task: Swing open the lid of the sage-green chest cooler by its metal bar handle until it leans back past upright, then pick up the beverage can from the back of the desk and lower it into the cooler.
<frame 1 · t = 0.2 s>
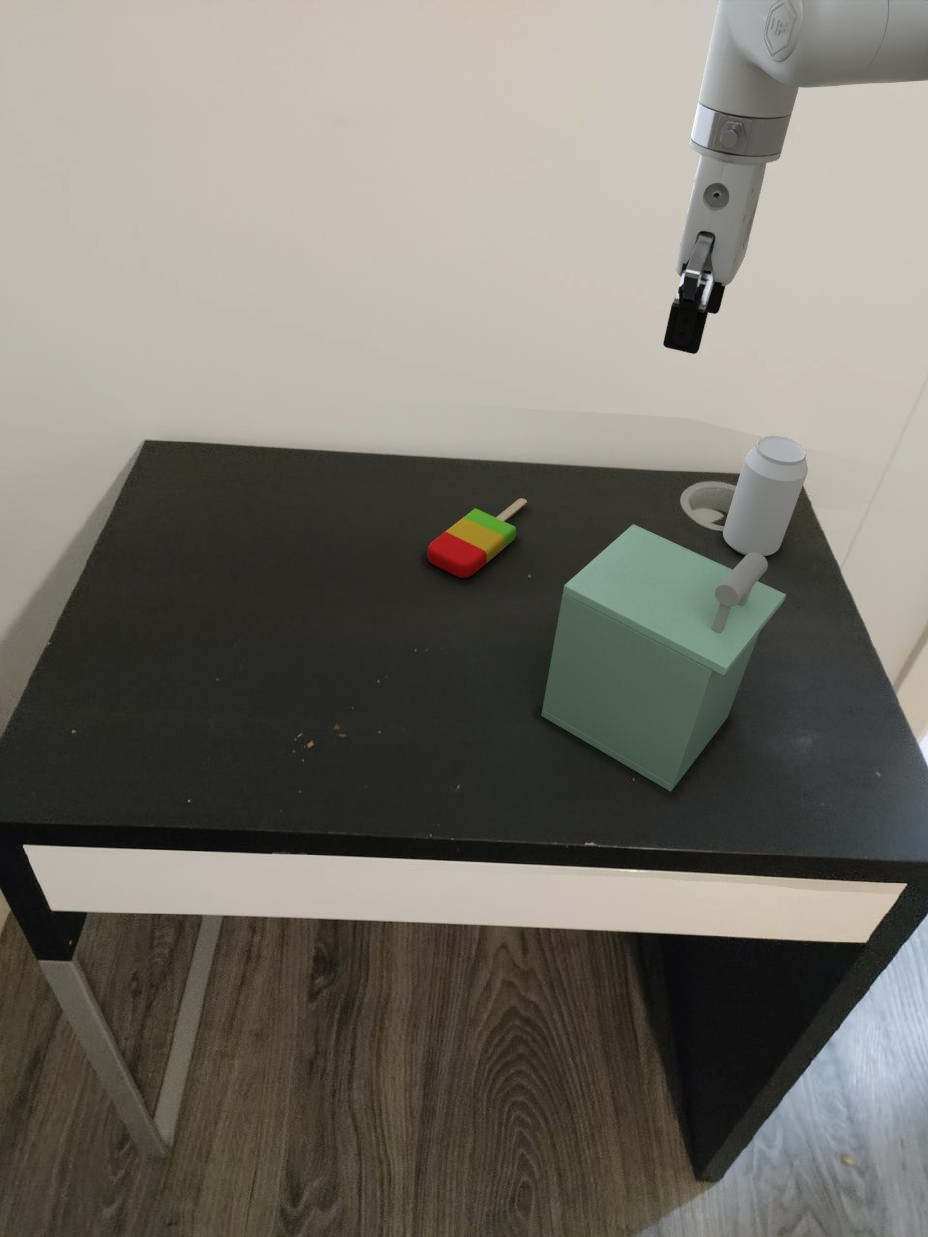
hand: (691, 328, 88), 22 cm above the table, tool pointing down, fingers open, 9 cm apart
popsicle: (485, 539, 98), on the table
fridge lid: (681, 571, 69), point 16 cm above the table, hinge at 0.0°
beverage can: (748, 545, 101), on the table
pale green hollow box: (635, 716, 80), on the table
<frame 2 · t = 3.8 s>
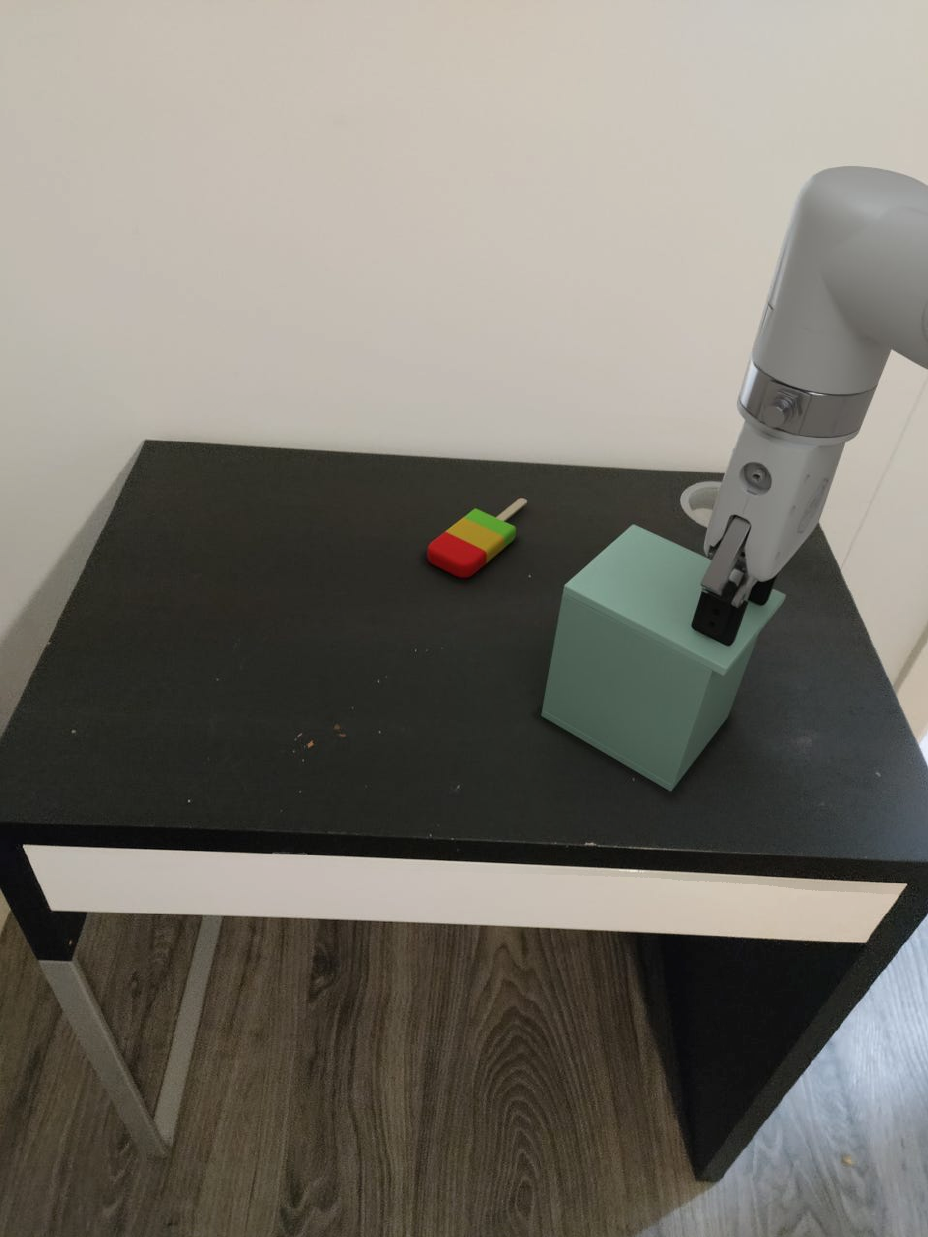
hand: (730, 613, 69), 15 cm above the table, tool pointing down, fingers closed on fridge lid, 5 cm apart
fridge lid: (681, 571, 69), point 16 cm above the table, hinge at -0.2°, touching gripper
everything else where it was.
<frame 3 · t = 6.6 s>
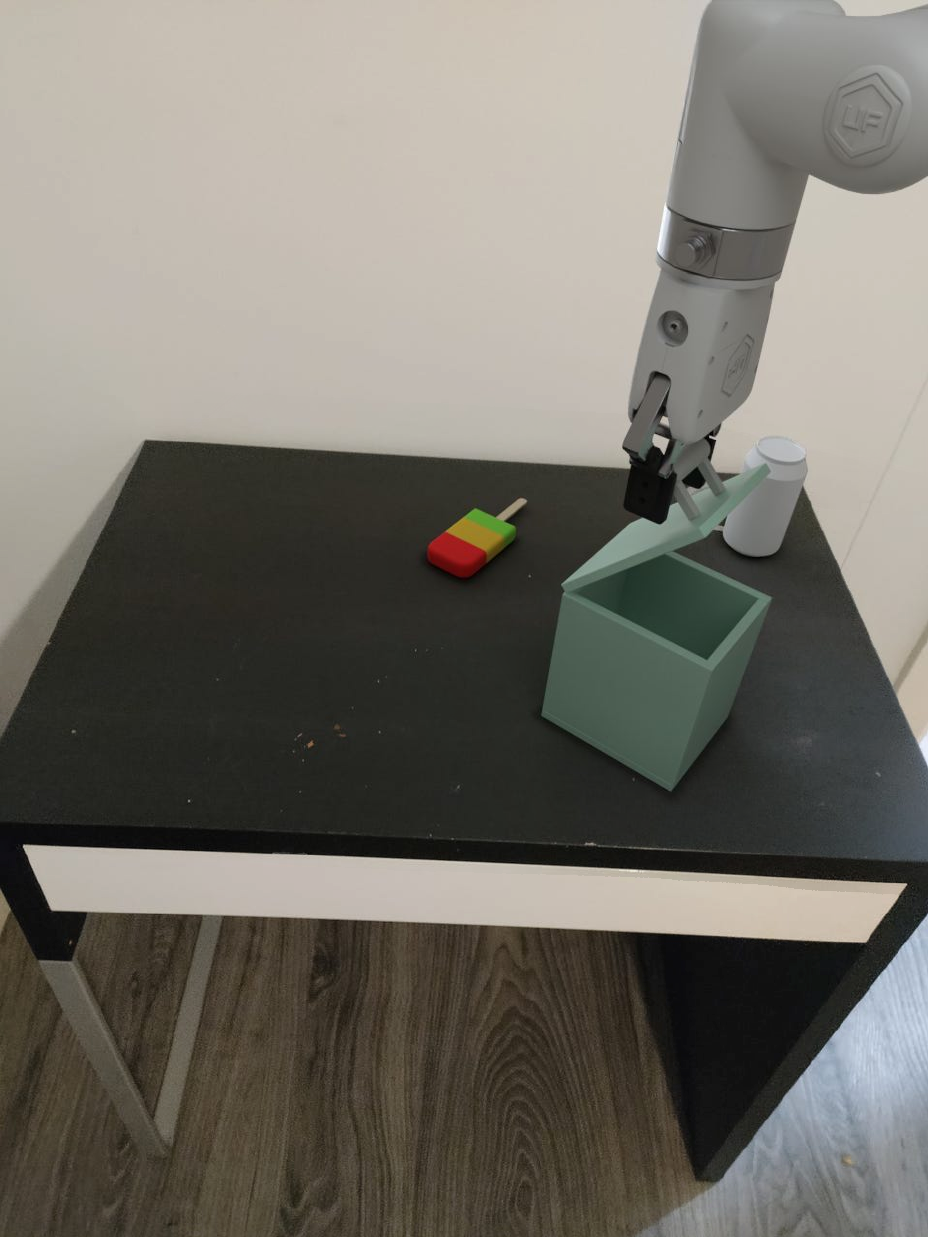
hand: (664, 495, 67), 22 cm above the table, tool pointing down, fingers closed on fridge lid, 5 cm apart
fridge lid: (647, 504, 68), point 21 cm above the table, hinge at 47.3°, touching gripper
everything else where it was.
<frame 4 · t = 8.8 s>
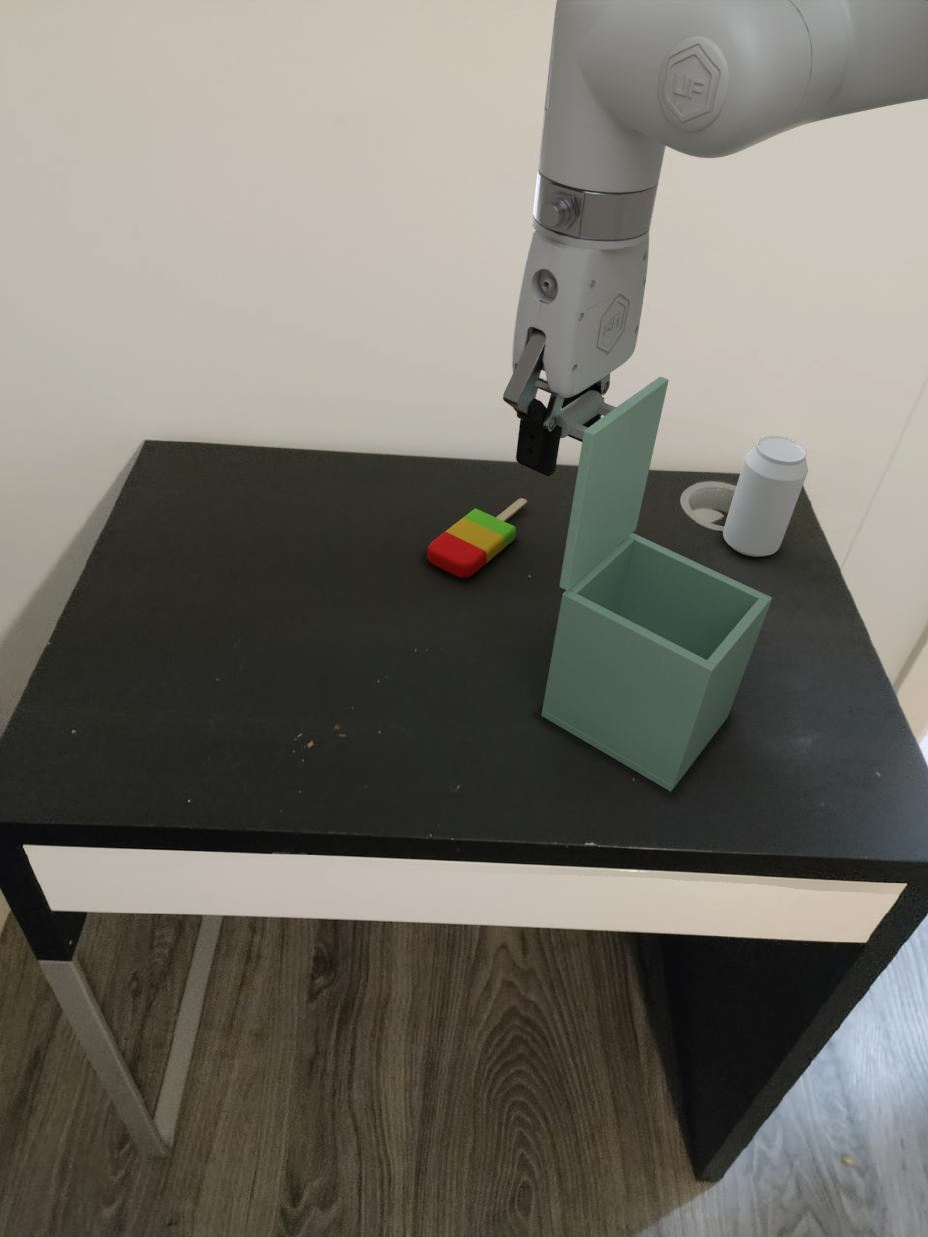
hand: (556, 450, 71), 22 cm above the table, tool pointing down, fingers closed on fridge lid, 5 cm apart
fridge lid: (587, 474, 70), point 21 cm above the table, hinge at 90.6°, touching gripper
everything else where it was.
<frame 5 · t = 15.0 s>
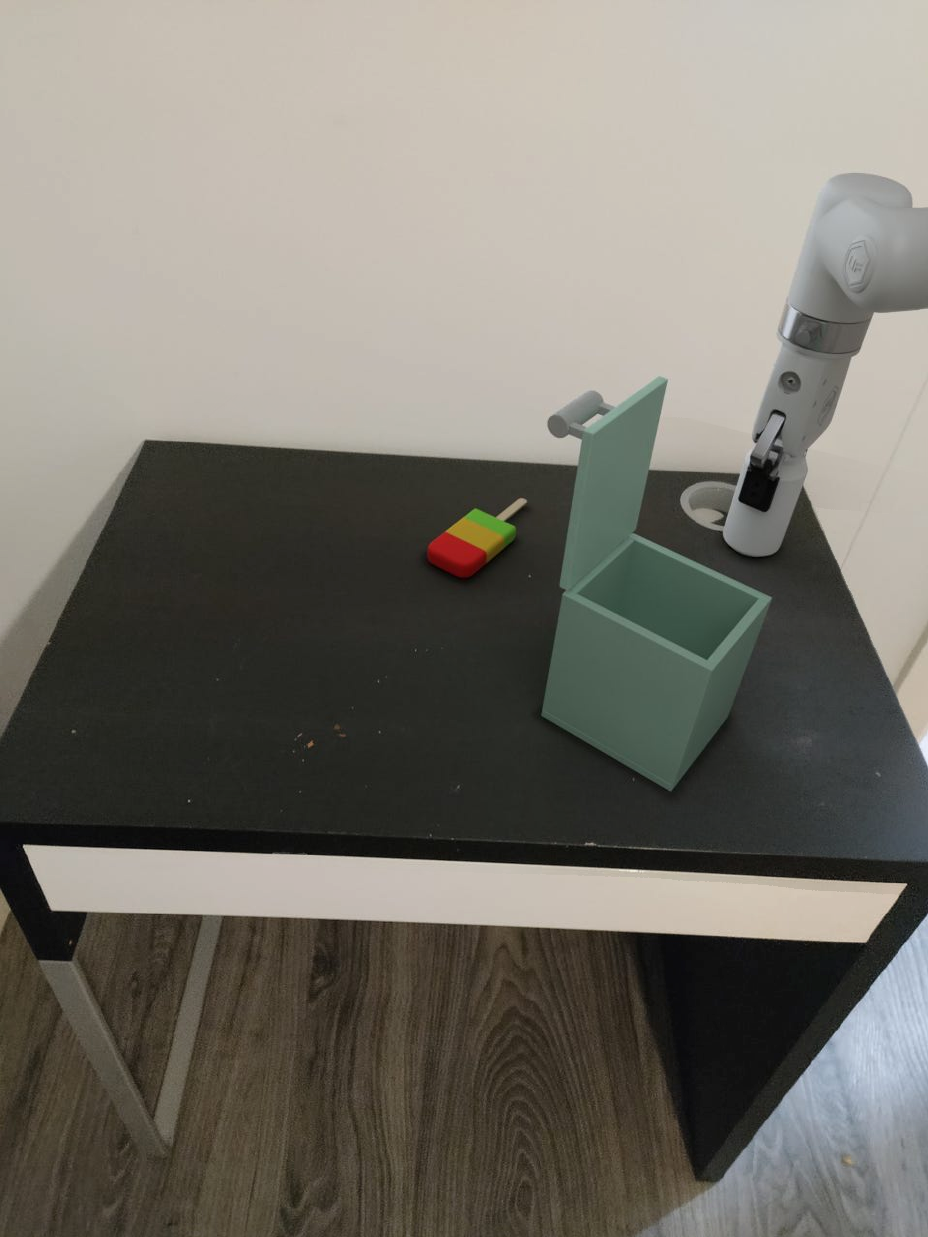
hand: (767, 490, 96), 7 cm above the table, tool pointing down, fingers closed on beverage can, 6 cm apart
fridge lid: (587, 474, 70), point 21 cm above the table, hinge at 90.8°
beverage can: (749, 545, 101), on the table, touching gripper
everything else where it was.
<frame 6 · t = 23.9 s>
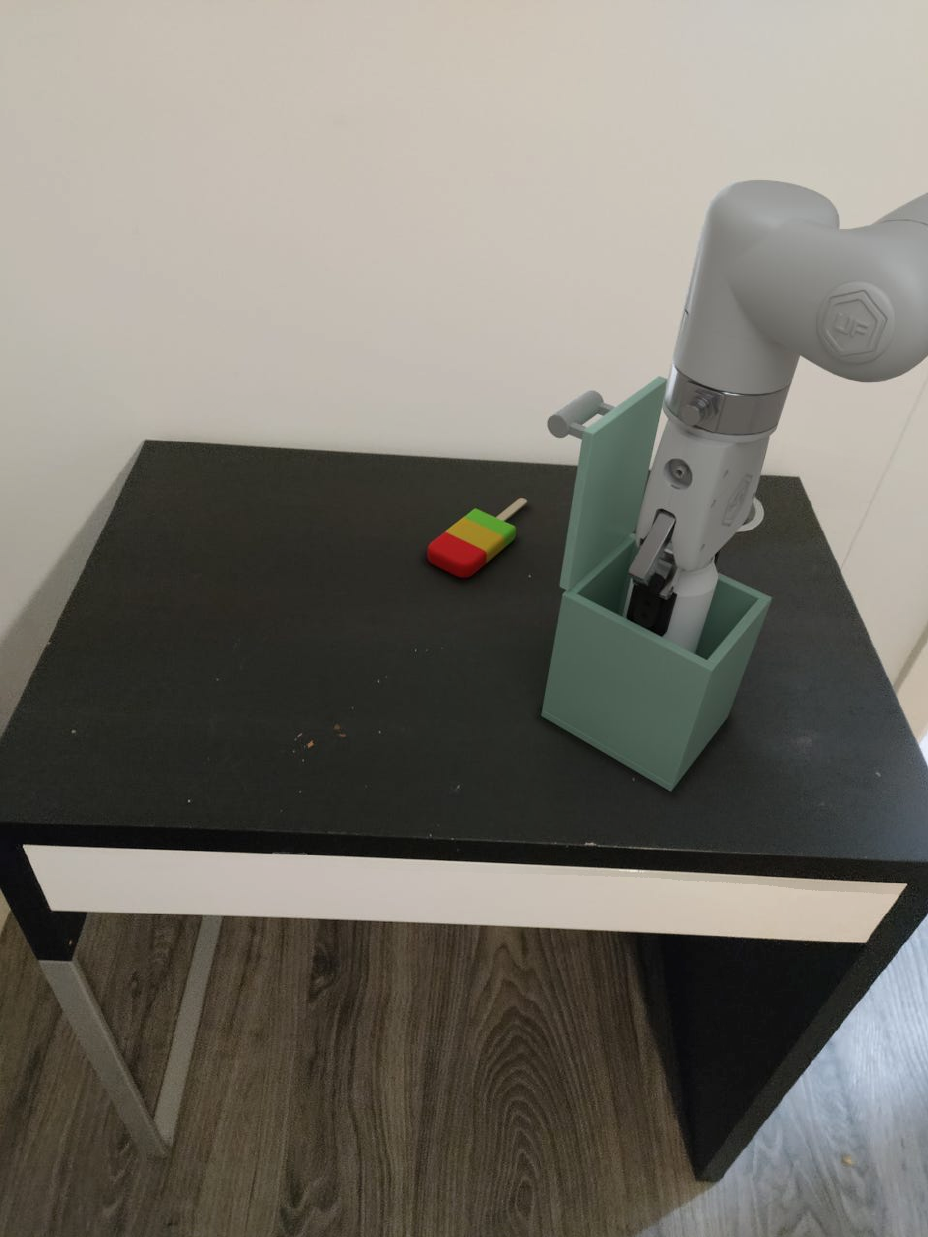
hand: (668, 602, 72), 13 cm above the table, tool pointing down, fingers closed on beverage can, 6 cm apart
beverage can: (649, 668, 76), point 6 cm above the table, touching gripper
everything else where it was.
when the fingers open (14 cm above the table, at t = 29.5 s): beverage can drops 6 cm, resting on pale green hollow box.
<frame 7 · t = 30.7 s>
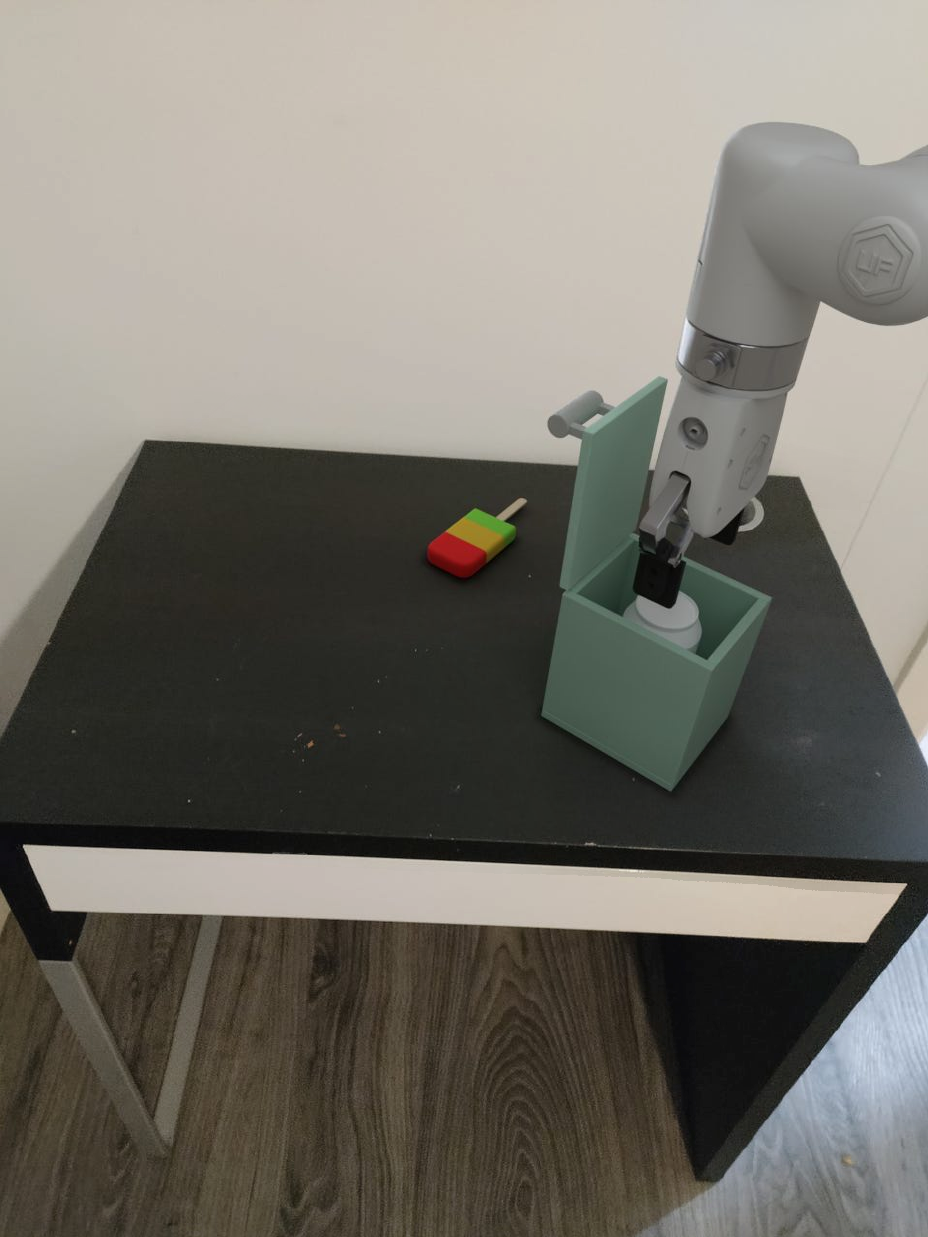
hand: (684, 566, 69), 17 cm above the table, tool pointing down, fingers open, 9 cm apart
beverage can: (636, 713, 80), point 1 cm above the table, touching pale green hollow box
everything else where it was.
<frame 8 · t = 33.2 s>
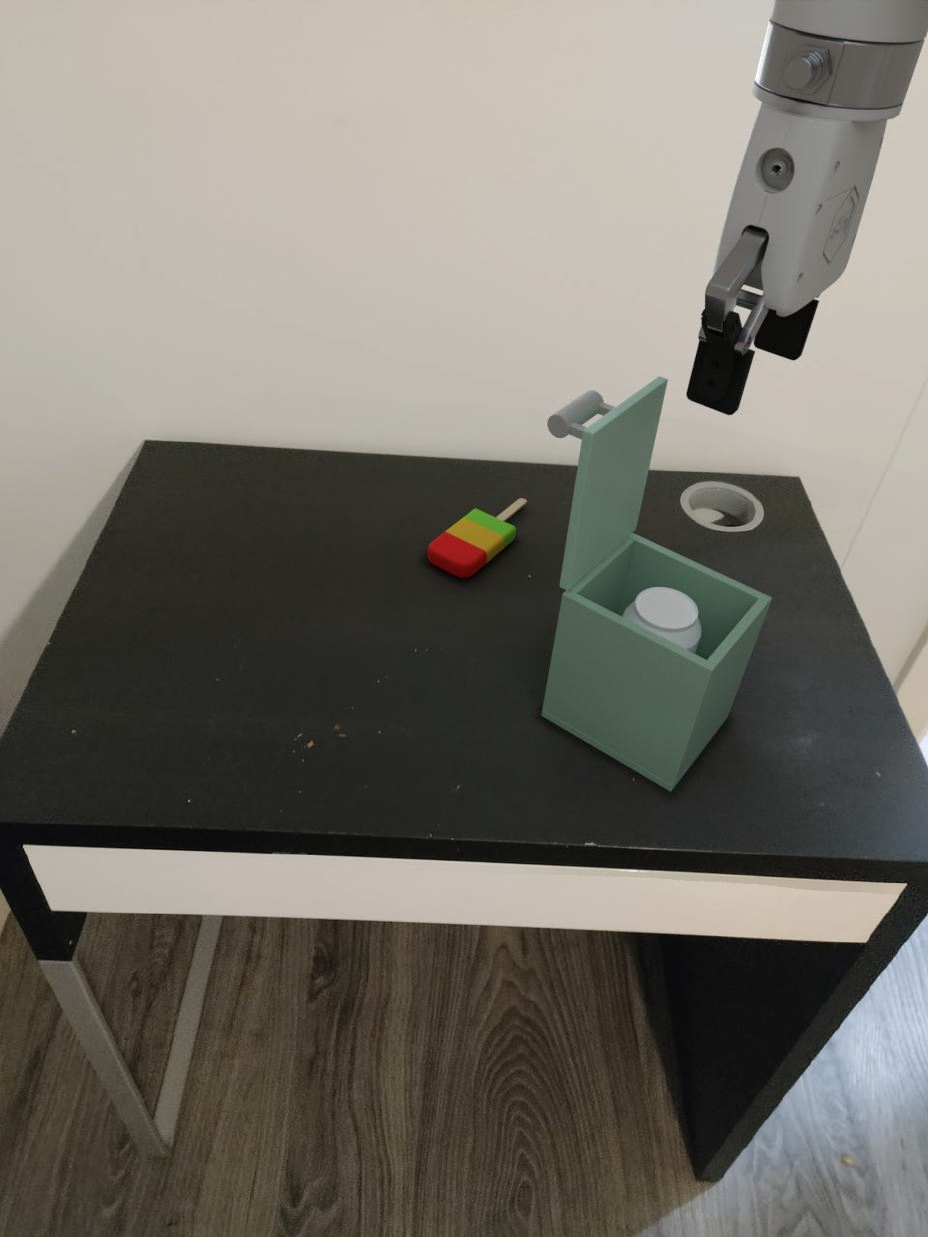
hand: (745, 377, 59), 32 cm above the table, tool pointing down, fingers open, 9 cm apart
nothing on the table moved.
at the end: fridge lid at +91° (first picture: +0°); beverage can inside the target area in the pale green hollow box (0.2 cm from its centre), point 0.6 cm above the pale green hollow box's base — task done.
